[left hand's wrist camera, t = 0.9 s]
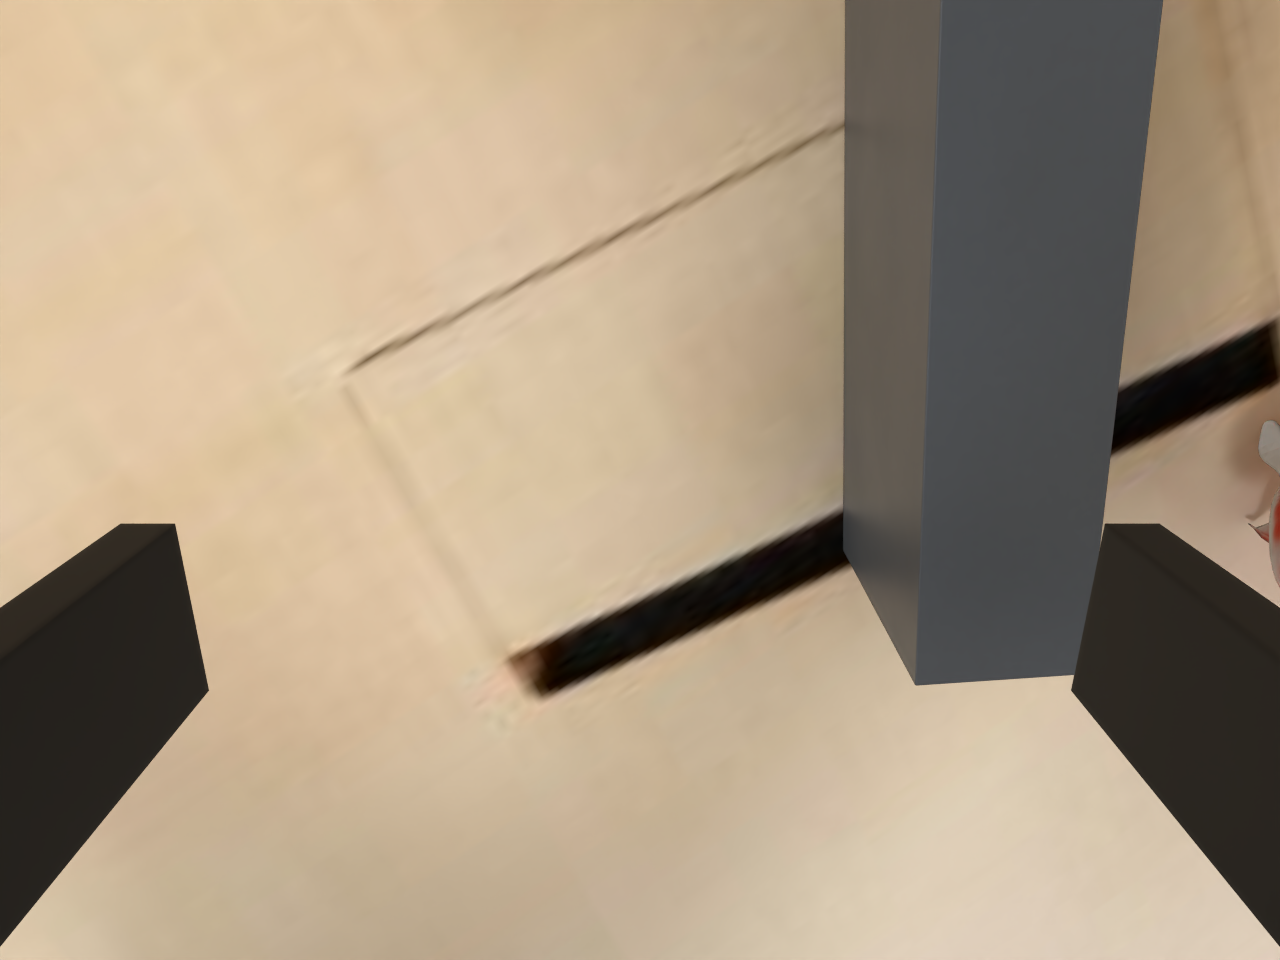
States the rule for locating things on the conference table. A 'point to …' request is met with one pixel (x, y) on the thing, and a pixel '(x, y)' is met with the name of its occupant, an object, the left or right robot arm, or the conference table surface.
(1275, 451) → the fish
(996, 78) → the bar
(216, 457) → the conference table surface
